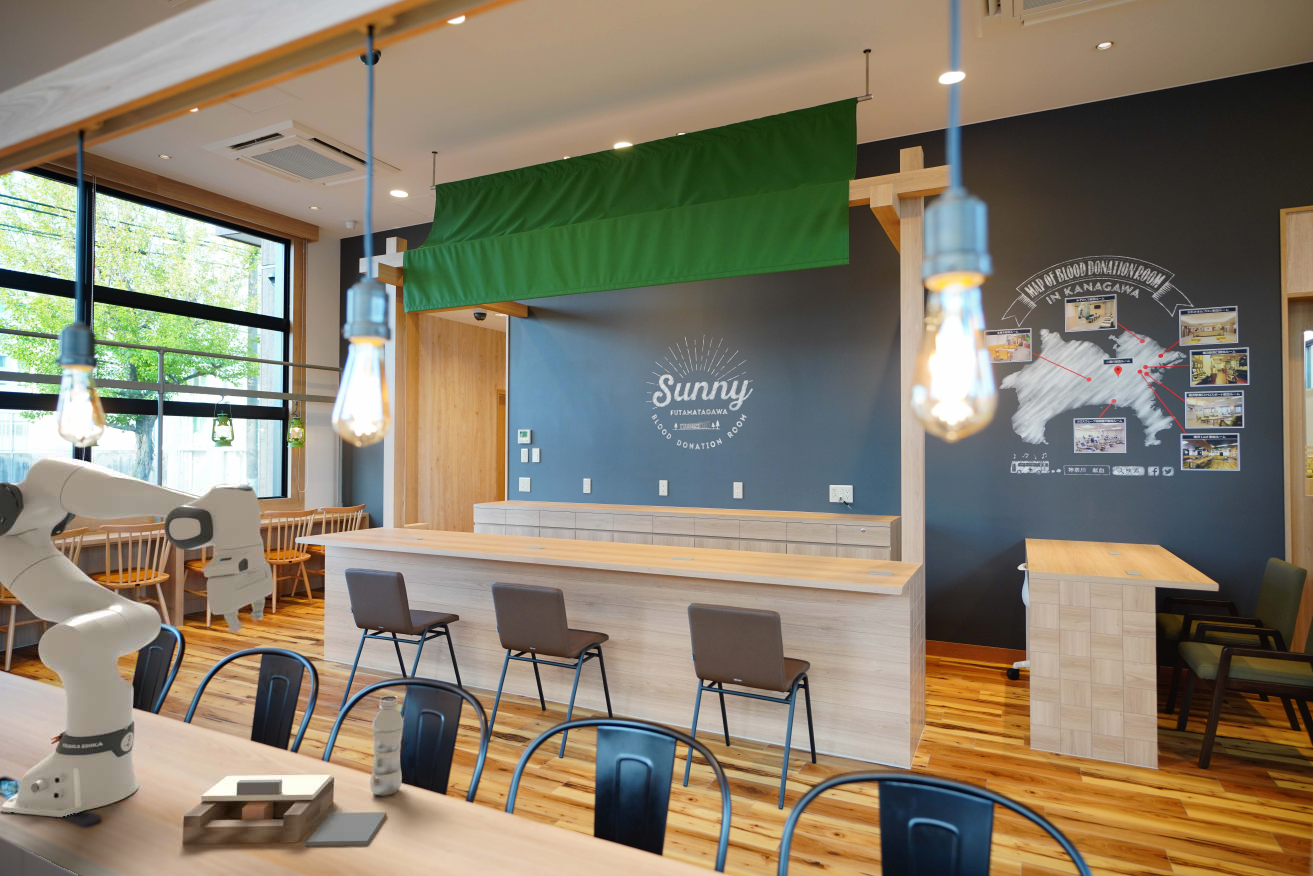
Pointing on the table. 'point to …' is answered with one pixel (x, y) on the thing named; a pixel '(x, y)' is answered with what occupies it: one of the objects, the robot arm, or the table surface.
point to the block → (258, 810)
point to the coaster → (347, 829)
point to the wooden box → (215, 826)
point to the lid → (267, 788)
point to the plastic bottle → (387, 748)
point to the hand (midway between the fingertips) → (247, 625)
